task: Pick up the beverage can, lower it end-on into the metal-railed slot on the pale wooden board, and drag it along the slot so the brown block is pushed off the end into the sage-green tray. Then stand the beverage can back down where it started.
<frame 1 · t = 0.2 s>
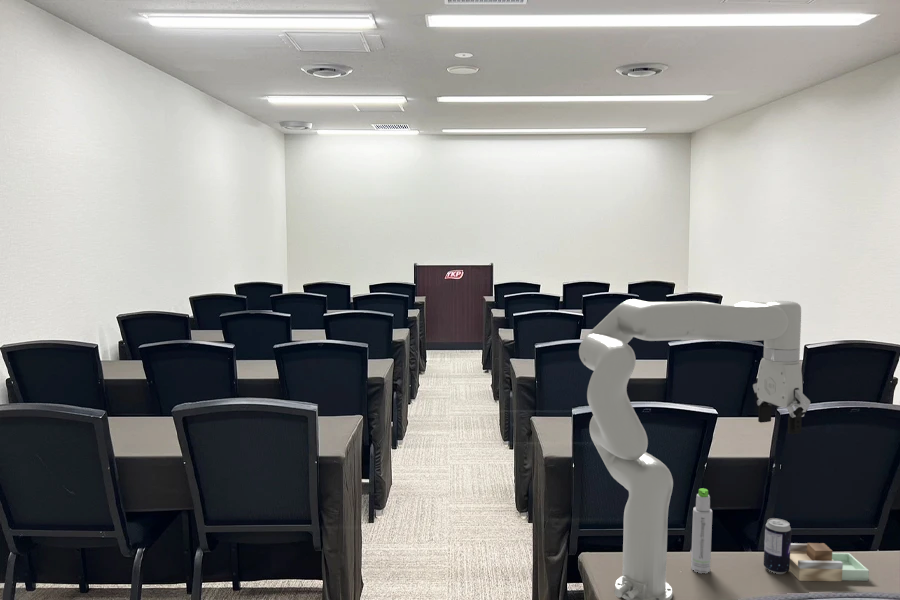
hand: (779, 427, 164), 36 cm above the table, tool pointing down, fingers open, 9 cm apart
beverage can: (776, 570, 171), on the table
brown block: (819, 558, 170), point 3 cm above the table, touching slot board
slot board: (810, 570, 171), on the table
tray: (844, 571, 170), on the table
bottle: (700, 570, 171), on the table
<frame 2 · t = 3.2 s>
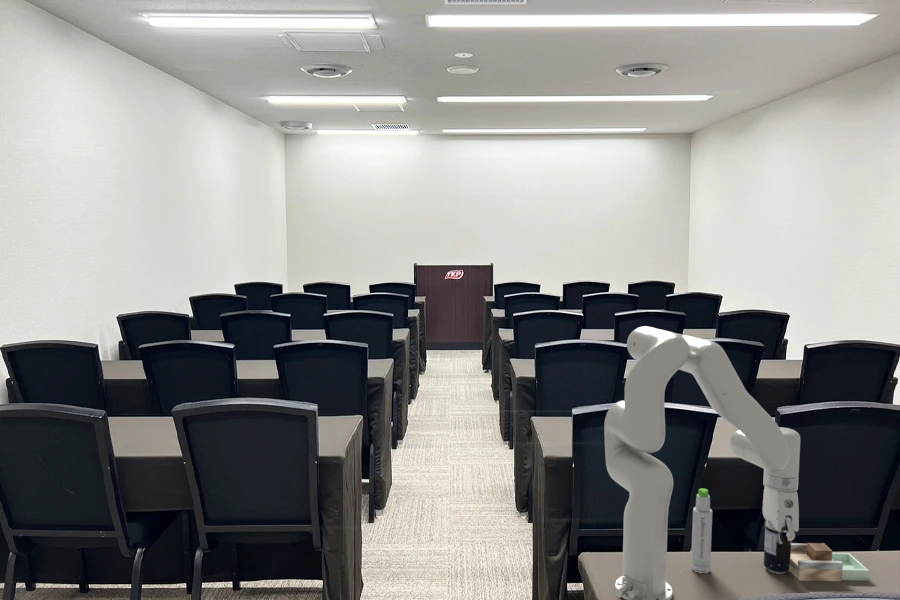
hand: (777, 551, 170), 5 cm above the table, tool pointing down, fingers closed on beverage can, 5 cm apart
beverage can: (776, 570, 171), on the table, touching gripper
everything else where it was.
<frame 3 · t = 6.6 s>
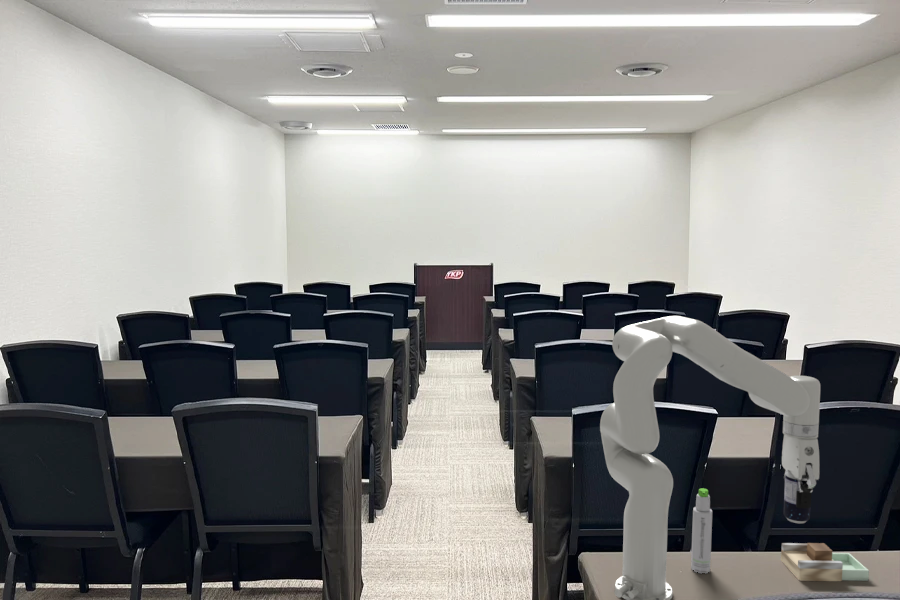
hand: (797, 501, 169), 17 cm above the table, tool pointing down, fingers closed on beverage can, 5 cm apart
beverage can: (796, 520, 169), point 12 cm above the table, touching gripper
everything else where it was.
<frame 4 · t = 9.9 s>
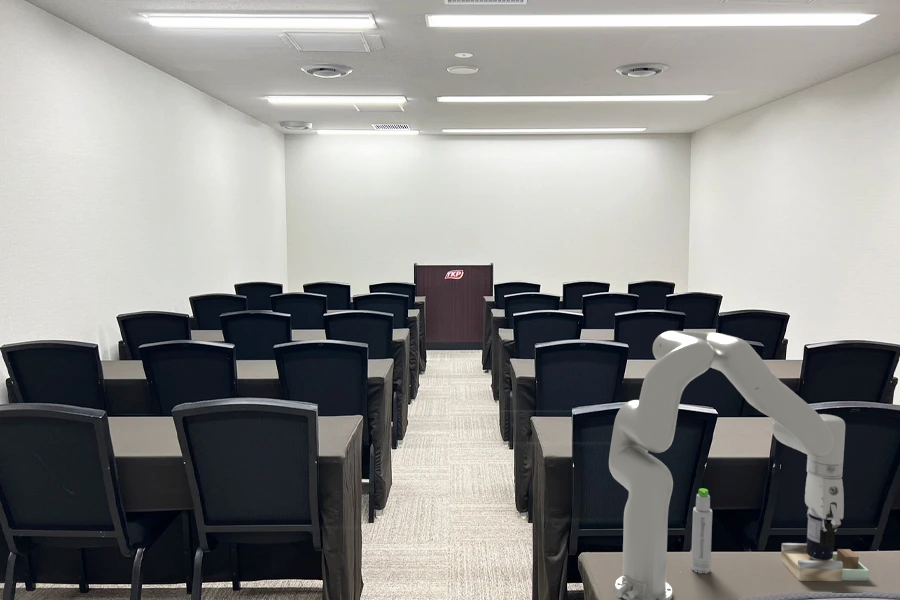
hand: (820, 539, 170), 8 cm above the table, tool pointing down, fingers closed on beverage can, 5 cm apart
beverage can: (819, 558, 170), point 3 cm above the table, touching gripper
brown block: (841, 560, 170), point 3 cm above the table, tilted 90°, touching tray
everything else where it was.
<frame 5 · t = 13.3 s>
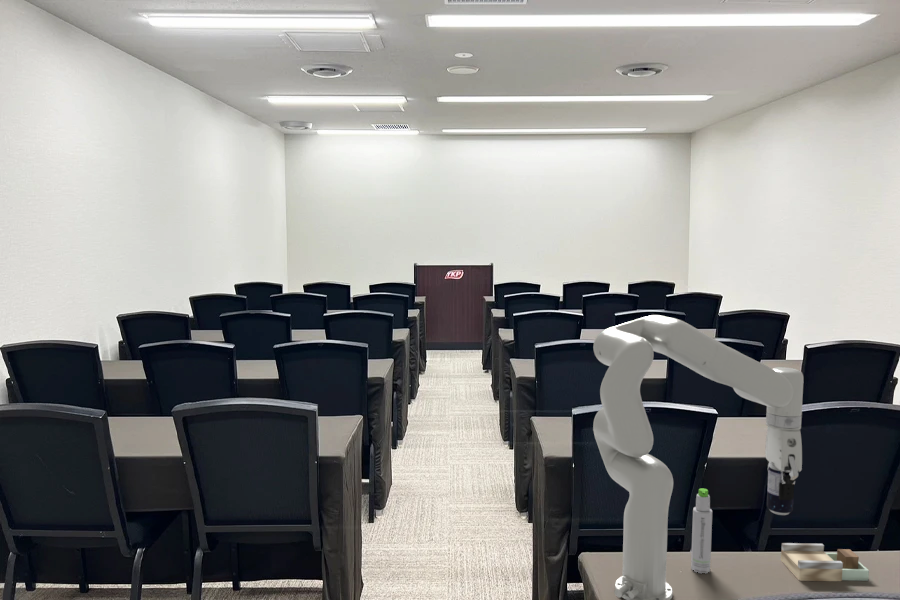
hand: (780, 493, 169), 19 cm above the table, tool pointing down, fingers closed on beverage can, 5 cm apart
beverage can: (779, 512, 169), point 14 cm above the table, touching gripper
everything else where it was.
when the fingers open (5 cm above the table, at t = 16.1 s): beverage can stays where it is, on the table.
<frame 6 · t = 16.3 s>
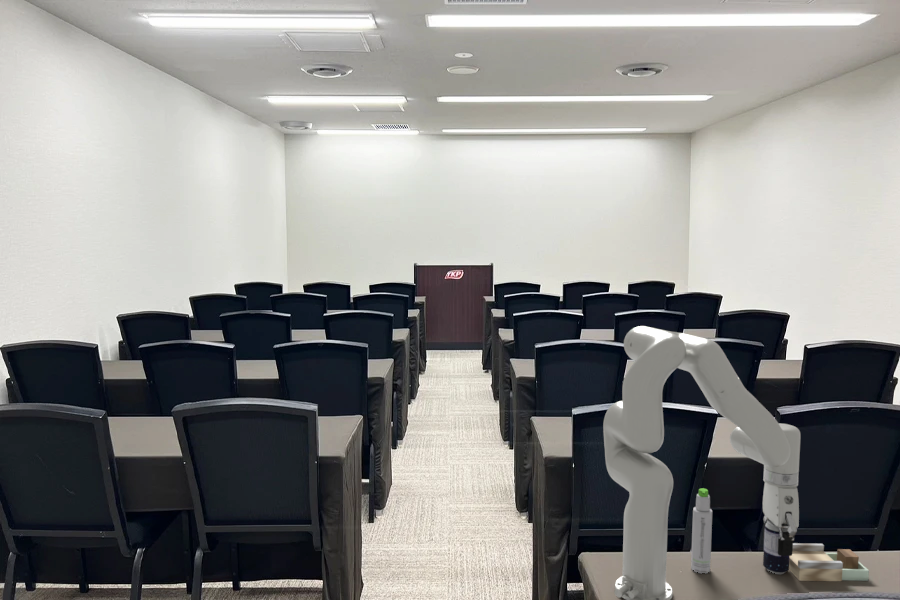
hand: (777, 546, 170), 6 cm above the table, tool pointing down, fingers open, 7 cm apart
beverage can: (775, 570, 171), on the table
everything else where it was.
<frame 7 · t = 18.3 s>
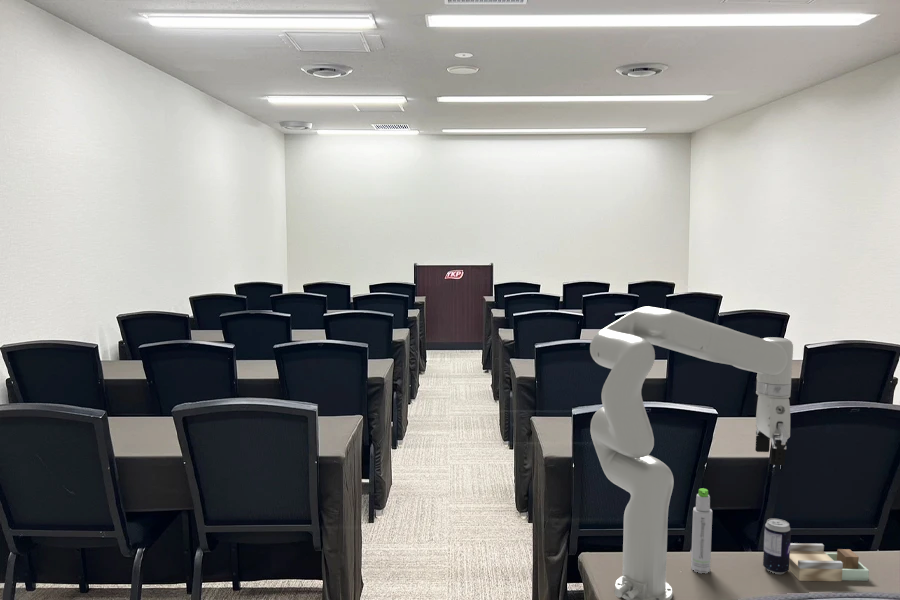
hand: (769, 457, 172), 27 cm above the table, tool pointing down, fingers open, 9 cm apart
nothing on the table moved.
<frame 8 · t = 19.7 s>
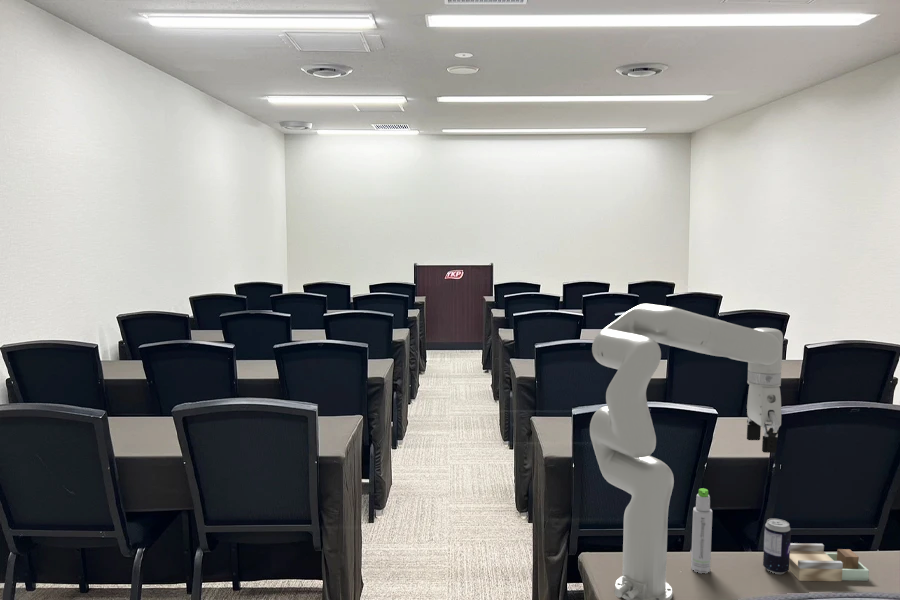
hand: (761, 445, 176), 28 cm above the table, tool pointing down, fingers open, 9 cm apart
nothing on the table moved.
at the end: brown block touching tray; beverage can tilted 0° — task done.
